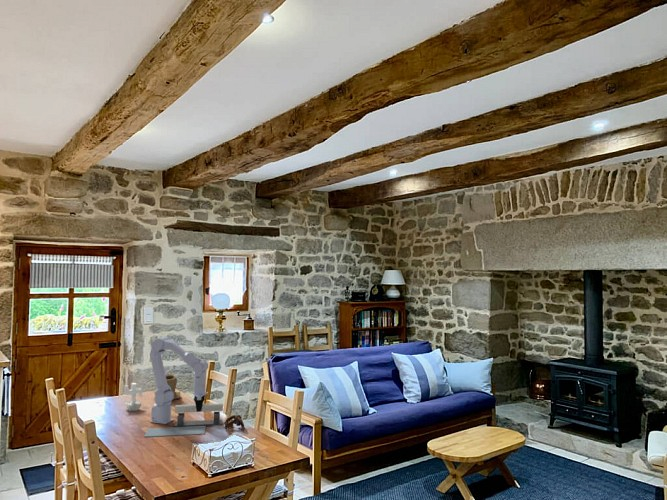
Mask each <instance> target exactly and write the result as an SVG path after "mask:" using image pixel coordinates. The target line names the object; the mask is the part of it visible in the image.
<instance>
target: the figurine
mask: <svg viewBox="0 0 667 500" xmlns="http://www.w3.org/2000/svg"><path fill="white" fill-rule="evenodd" d="M130 385H131V387H130V389H129V384H125V385H124V394H125V395H126V396H130V395H131V396H130V401H129V402H124V405H125V406H126V409H127V410H128V411H129V412H134V411H139V410H140V408H141V406H142V402H140V401H138V400H137V395H138V398H139V399H141V398H143V389H142V388H141V387H139V388H137V387H138V386H137V385H138V384H137V383H136V382H131V384H130Z"/></svg>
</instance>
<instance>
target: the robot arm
mask: <svg viewBox="0 0 667 500" xmlns="http://www.w3.org/2000/svg"><path fill="white" fill-rule="evenodd" d="M167 350H168V351H169V350H170V351H172V352H173V353H175V354H176V355H178V356H179V357H181V358H182V361H183V362H184V363H185V364H186V365H187V366H189V367H191V368H192V371H193V373H194V383H193V386H194V387H193V401H194V403H195V404H196V410H197V412H196V413H200V412H201V410H202V405H203V404H204V402H205V400H206V395H208V393H209V392H208V391H206V384H207V370H208V368H209V363H208V361H206V360H205V359H201V357H198V356H197V355H195V353H194V352H191V351H189V352H188V351H186V350H185V349H183V347H181V346H180V345H179V344H177V343H176V341H175V340H174V339H172V338H171V337H170V336H169V335H168V336H166V335H165V336H162V337H158V338H157V337H156V338H155V339H153V340H152V342H151V343H150V352H149V357H150V361H151V366H152V372H153V377H154V380H155V385H156V389H155V391H154V404H153V405H152V407H151V412H150V413H151V417H150V419H151V420H150V421H149V422H150V423H156V424H163V425H166V424H169V423H170V422H172V421H174V420H175V418H172V401H174V399H173V398H174V393H173V392H172V390H171V387H170V386H169V385H168V384H167V380H166V375H167V374H166V370H165V367H164V362H163V357H162V355H163V354H164V353H165V352H166V351H167ZM195 404H194V405H195Z"/></svg>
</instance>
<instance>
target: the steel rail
mask: <svg viewBox="0 0 667 500" xmlns="http://www.w3.org/2000/svg"><path fill="white" fill-rule="evenodd" d="M223 409H224V403H203V405H202V410H201V412H202V413H203V412H217V411H220V412H223V411H224V410H223ZM174 413H176V414H178V413H198V412H197V410H196V404H176V405H174Z"/></svg>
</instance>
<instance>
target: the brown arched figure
mask: <svg viewBox="0 0 667 500" xmlns="http://www.w3.org/2000/svg"><path fill="white" fill-rule="evenodd" d="M223 424H224V429H225V430H226V431H227V430H228V429H230V428H232V429H234V427H233V426H234V425H236V426H237V427H241V430H242V432H244V431H245V430H246V427H245V422H244V421H243V419H242V416H241V415H240V414H234V415H231V416H229V417H228V418H227V419H226V420H225V422H224V421H223Z"/></svg>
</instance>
